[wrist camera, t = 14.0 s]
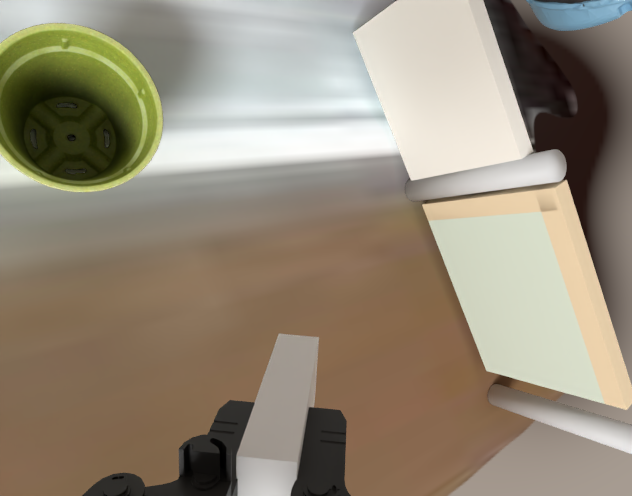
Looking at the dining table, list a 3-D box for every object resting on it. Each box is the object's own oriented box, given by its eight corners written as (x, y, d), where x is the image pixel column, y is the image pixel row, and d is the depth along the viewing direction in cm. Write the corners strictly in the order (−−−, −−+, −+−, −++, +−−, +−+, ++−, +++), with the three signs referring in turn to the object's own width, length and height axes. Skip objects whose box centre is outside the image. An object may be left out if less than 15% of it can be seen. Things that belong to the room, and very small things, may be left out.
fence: (369, 28, 47) (503, -67, 33) (510, 391, 56) (662, 439, 42) (343, 38, 46) (471, -57, 32) (492, 409, 55) (642, 464, 41)
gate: (494, 363, 54) (635, 399, 41) (486, 370, 53) (626, 409, 40) (432, 198, 49) (566, 180, 36) (422, 204, 49) (555, 187, 36)
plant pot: (130, 74, 37) (150, 28, 29) (150, 197, 37) (174, 184, 30) (-17, 71, 32) (-39, 16, 25) (8, 211, 33) (-6, 199, 25)
